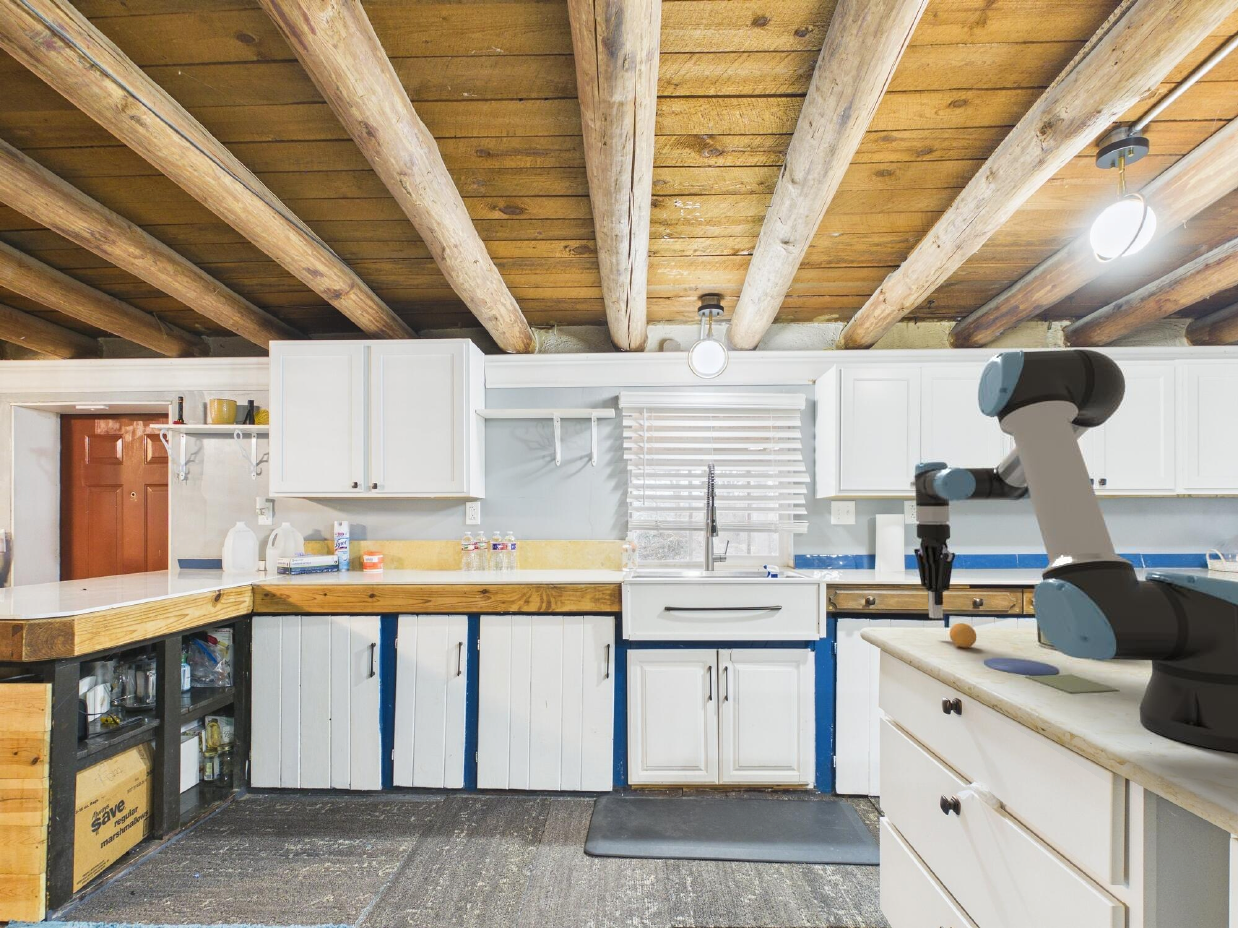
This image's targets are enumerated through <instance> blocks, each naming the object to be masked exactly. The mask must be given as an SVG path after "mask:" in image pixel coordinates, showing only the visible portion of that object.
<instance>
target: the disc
mask: <svg viewBox="0 0 1238 928" xmlns="http://www.w3.org/2000/svg"><path fill="white" fill-rule="evenodd" d="M983 664H984V666H986V667H988V668H990V667H991V669H993V668H994V670H997V671H999V672H1004V671H1005V672H1006V673H1010V674H1016V675H1024V676H1044V675H1059V674H1060V670H1059V668H1057V667H1056V666H1054V665H1051V664H1048V663H1045V662H1039V661H1037V660H1032V659H1031V660H1030V659H1023V658H1016V657H1014V658H1013V657H991V658H986V659H984V660H983Z"/></svg>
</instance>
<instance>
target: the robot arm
mask: <svg viewBox="0 0 1238 928" xmlns="http://www.w3.org/2000/svg"><path fill="white" fill-rule="evenodd" d="M979 380H980V381H979V383H978V391H977V400H978V401H977V402H978V407H979V410H980V412H981V413H982V414H983V415H985V416H986V417H990V418H994V417H997V420H998V424H999V427H1000V430H1001V431H1002V432H1003V433H1004V434H1007V435H1009V436H1011V437H1013V440H1014V444H1015V446H1014V448H1013V449H1012V450H1011V451H1010V452H1009V453H1008V454H1007V456H1006V457H1005V458H1004V459H1003V460H1002V461H1001V462H1000V463H999V464H998V465H997V466H996V467H979V468H977V467H976V468H975V467H969V468H968V467H966V468H965V467H949V465H948V464H947V463H946V462H944V461H927V462H924V461H923V462H917V463H916V465H915V466H914V476H913V478H914V485H915V486H914V489H915V490H914V491H915V521H916V522H918V523H917V524H916V538H918V539H919V540H921V541H920V542H919V543H920V544H919V545H920V546H919V547H918V548H914V551H913V552H914V554H915V557H916V562H917V567H918V572H919V573H918V574H919V578H920V584H921V587H922V588H925V590H926V591H927V603H928V617H929V618H931V619H943V618H944V616H943V615H944V614H943V613H944V612H943V605H944V595H943V594H944V592H946V591H950V587H951V578H952V571H953V564H954V560H955V557H956V553H955V552H950V551H949V547H948V542H947V540H950V538H951V525H950V524H949V522H950V501H951V502H953V501H956V502H958V501H983V500H984V501H985V500H986V501H987V500H989V501H992V500H993V501H997V500H999V501H1001V500H1003V501H1019V500H1031V501H1032V502H1031V503H1032V507H1033V509H1034V513H1035V516H1036V520H1037V524H1038V527H1039V530H1040V533H1041V537H1042V538H1041V539H1042V541H1043V545H1044V547H1045V552H1046V555H1047V558H1048V561H1049V563H1048V565H1047V567H1046V568H1045V569H1044V570H1043V571H1042V572H1041V577H1042V581H1040V582H1039V583H1038V585H1037V587H1036V588H1035V587H1034V590H1033V594H1032V597H1033V600H1034V601H1033V603H1032V605H1033V606H1032V607H1033V612H1034V616H1035V620H1036V624H1037V623H1038V625H1039V627H1040V629H1041V631H1042V633H1043V634H1044V636H1045V637H1046V639H1047V640H1048V641H1049V642H1050V643H1051V645H1052V646H1054V647H1056V648H1057V650H1056V651H1058V650H1059V652H1060V653H1061V654H1063V655H1065V656H1068V657H1069V658H1070V657H1071V658H1074V659H1083V660H1084V659H1086V660H1093V661H1095V662H1096V661H1098V662H1104V661H1109V660H1115V661H1116V660H1118V661H1120V660H1121V661H1122V660H1124V661H1151V676H1150V679H1149V681H1148V684H1147V687H1146V689H1145V692H1144V695H1143V698H1142V700H1141V703H1140V706H1139V721H1140V724H1141V725H1142V726H1143V727H1145V728H1146V729H1148V730H1150V731H1151V732H1153V733H1156V734H1158V735H1161V736H1164V737H1165V738H1169V739H1173V740H1176V741H1178V742H1183V743H1186V744H1190V745H1193V746H1198V747H1199V746H1200V747H1203V748H1208V749H1214V750H1219V751H1226V752H1233V753H1238V581H1236V580H1230V579H1222V578H1215V577H1208V576H1207V577H1206V576H1201V575H1192V574H1186V573H1177V572H1170V571H1162V570H1154V569H1153V570H1148V571H1147V572H1146V575H1145V577H1144V580H1139V579H1138V576H1137V573H1136V570H1135V567H1134V565H1133V562H1131V561H1130V560H1127V558H1126V559H1125V558H1124V557H1123V556H1119V555H1118V554H1117V553H1116V551H1115V548H1114V545H1113V542H1112V539H1111V535H1110V533H1109V530H1108V527H1107V525H1106V521H1105V518H1104V515H1103V512H1102V510H1101V507H1100V504H1099V501H1098V497H1097V495H1096V492H1095V489H1094V486H1093V484H1092V480H1091V478H1090V477H1091V476H1090V475H1089V472H1088V468H1087V466H1086V462H1085V460H1084V458H1083V454H1082V452H1081V449H1080V445H1079V443H1078V440H1079V439H1080V438H1081V437H1082V436H1083V435H1084V434H1085V433H1086V432H1087V431H1088V430H1089V429H1093V428H1096V427H1100V426H1101V425H1103V424H1105V422H1106V421H1108V419H1109V418H1111V417H1112V416H1113V414H1115V412H1116V411H1117V410H1118V409H1119V407H1120V405H1121V404H1122V402H1123V399H1124V396H1125V392H1126V380H1125V376H1124V374H1123V371H1122V369H1121V368H1120V366H1119V365H1118V364H1117V362H1115V361H1114V360H1113V359H1111V357H1109V356H1107V355H1105V354H1104V353H1101V352H1098V351H1095V350H1092V349H1086V348H1085V349H1083V348H1081V349H1066V350H1065V349H1062V350H1060V349H1059V350H1044V351H1043V350H1040V351H1039V350H1037V351H1036V350H1035V351H1023V350H1021V349H1019V350H1017V351H1006V352H1000V353H997V354H996V355H994V356H992V357H991V359H990V360H989V361H988V362H987V364H985V367H984V369H983V371H982V374H981V376H980V379H979Z"/></svg>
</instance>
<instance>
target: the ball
mask: <svg viewBox="0 0 1238 928" xmlns="http://www.w3.org/2000/svg"><path fill="white" fill-rule="evenodd" d="M949 638H950V640H951V642H952V643H953V644H954V645H956V646H957V647H959V648H964V649H965V648H970V647H972V646H974V644H975V643H976V641H977V633H976V631H975V629H974V628H973V627H972V626H971V625H969V624H966V623H962V622H961V623H957V624H954V625H953V626H952V627H950V630H949Z"/></svg>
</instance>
